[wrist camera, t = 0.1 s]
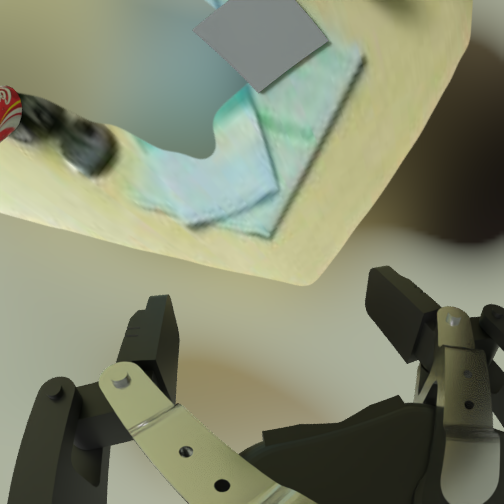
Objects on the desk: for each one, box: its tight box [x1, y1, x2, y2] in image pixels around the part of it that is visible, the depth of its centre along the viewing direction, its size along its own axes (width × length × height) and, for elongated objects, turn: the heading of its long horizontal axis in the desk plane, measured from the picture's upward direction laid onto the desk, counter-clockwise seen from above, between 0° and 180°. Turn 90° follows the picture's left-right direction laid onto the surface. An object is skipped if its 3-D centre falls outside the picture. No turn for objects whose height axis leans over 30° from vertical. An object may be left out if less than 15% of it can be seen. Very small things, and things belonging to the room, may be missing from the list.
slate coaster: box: [193, 0, 329, 93], centre depth 27 cm, size 12×12×1 cm
